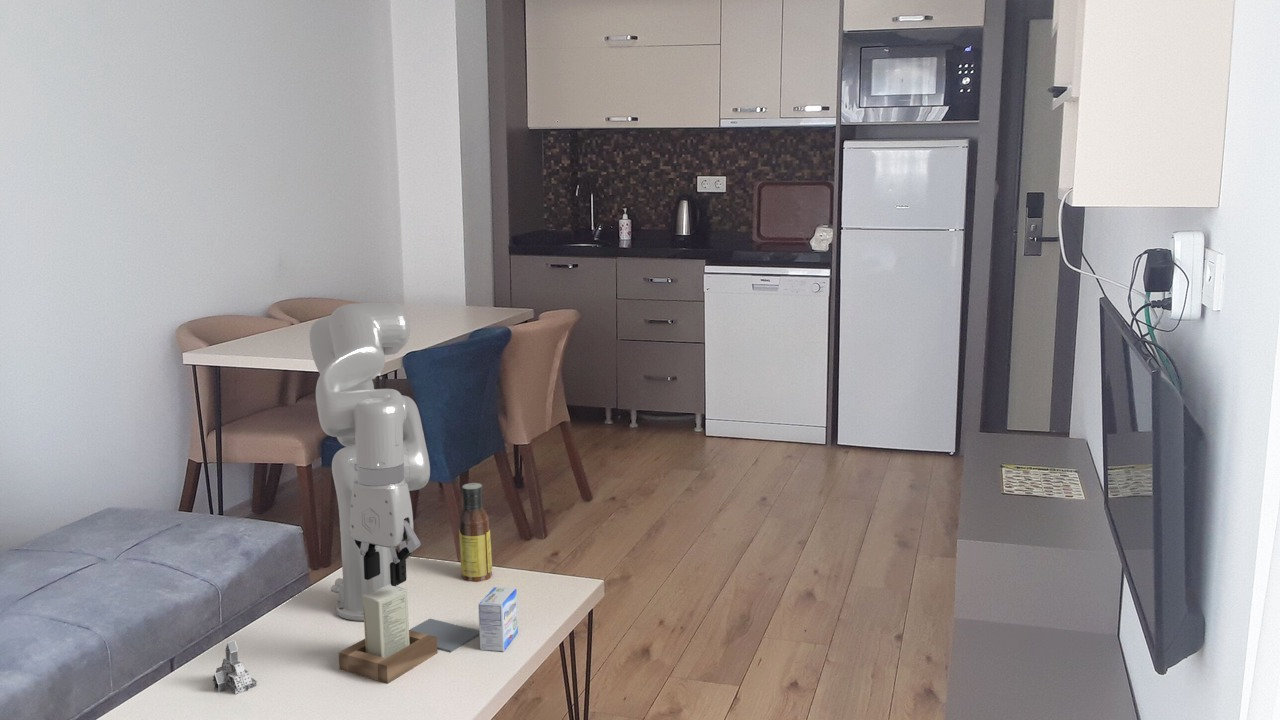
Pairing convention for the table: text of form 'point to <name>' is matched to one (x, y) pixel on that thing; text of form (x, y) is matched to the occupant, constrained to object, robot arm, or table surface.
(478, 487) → the sauce bottle
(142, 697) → the table surface
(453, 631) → the charcoal mat
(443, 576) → the table surface
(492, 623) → the medicine box
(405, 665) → the walnut holder
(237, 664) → the grey toy block stack
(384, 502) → the robot arm
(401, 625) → the skincare box
